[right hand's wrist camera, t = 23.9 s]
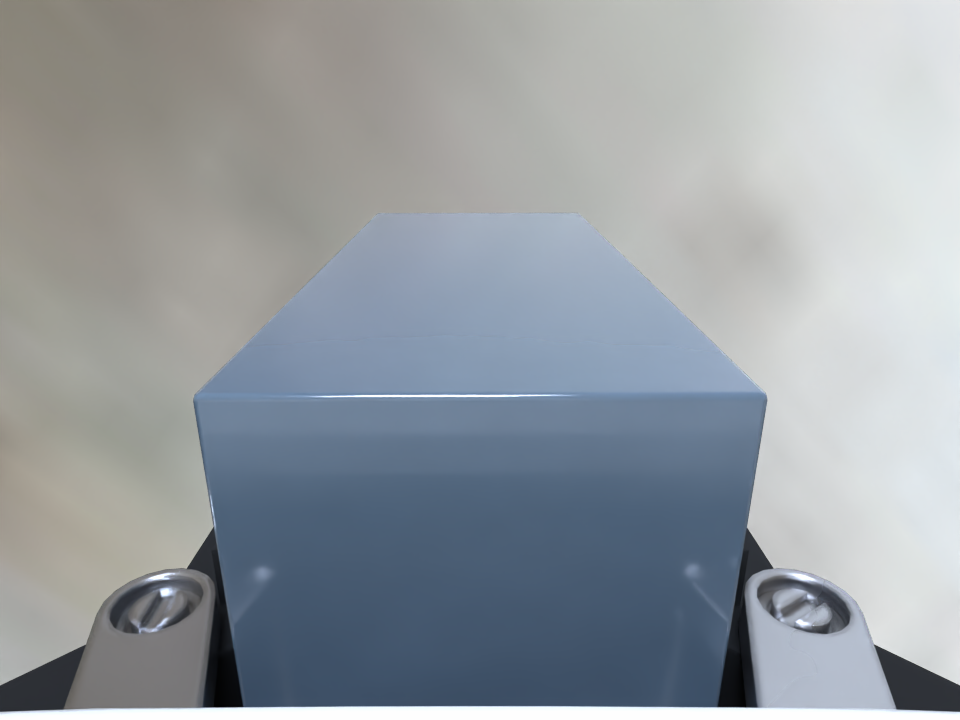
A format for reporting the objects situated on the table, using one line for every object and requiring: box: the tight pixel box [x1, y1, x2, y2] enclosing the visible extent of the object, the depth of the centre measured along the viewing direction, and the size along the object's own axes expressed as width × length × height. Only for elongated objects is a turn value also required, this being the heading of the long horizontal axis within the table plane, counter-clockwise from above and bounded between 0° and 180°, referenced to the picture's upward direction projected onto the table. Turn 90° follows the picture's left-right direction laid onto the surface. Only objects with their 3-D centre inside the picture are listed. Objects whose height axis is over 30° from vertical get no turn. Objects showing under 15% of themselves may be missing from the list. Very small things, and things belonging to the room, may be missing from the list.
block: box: [193, 213, 767, 707], centre depth 12 cm, size 5×8×11 cm, turn 0°
